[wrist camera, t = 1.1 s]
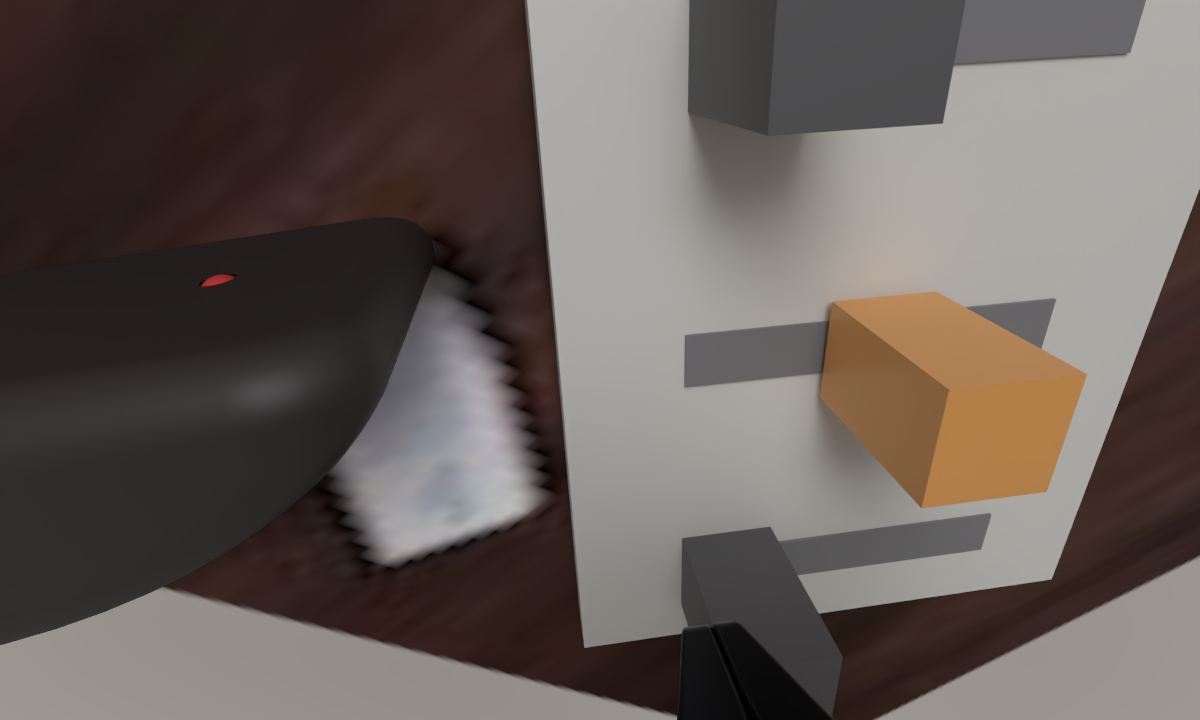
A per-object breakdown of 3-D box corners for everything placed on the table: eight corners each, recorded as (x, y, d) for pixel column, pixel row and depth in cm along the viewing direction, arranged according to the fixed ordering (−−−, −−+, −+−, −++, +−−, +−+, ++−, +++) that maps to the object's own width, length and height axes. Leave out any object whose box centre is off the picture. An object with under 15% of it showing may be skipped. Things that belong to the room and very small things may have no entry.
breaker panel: (1232, -123, 15) (1720, -246, 9) (1013, 542, 25) (1177, 700, 19) (515, -101, 14) (519, -233, 8) (578, 603, 24) (603, 799, 17)
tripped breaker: (935, 291, 17) (1087, 373, 12) (916, 386, 18) (1046, 492, 14) (832, 301, 17) (948, 390, 12) (819, 397, 18) (921, 508, 14)
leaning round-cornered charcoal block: (-99, 446, 18) (-660, 802, 9) (-215, 296, 15) (-1077, 579, 7) (467, 351, 19) (432, 593, 10) (430, 198, 16) (347, 344, 8)
